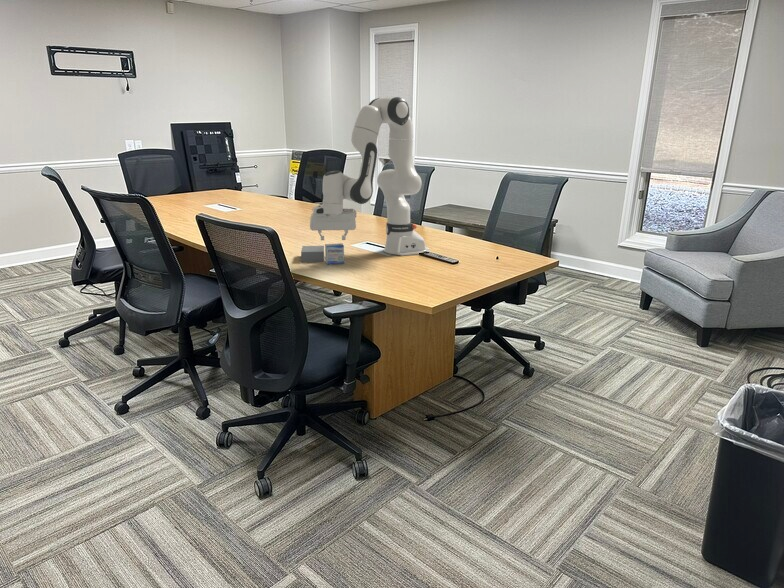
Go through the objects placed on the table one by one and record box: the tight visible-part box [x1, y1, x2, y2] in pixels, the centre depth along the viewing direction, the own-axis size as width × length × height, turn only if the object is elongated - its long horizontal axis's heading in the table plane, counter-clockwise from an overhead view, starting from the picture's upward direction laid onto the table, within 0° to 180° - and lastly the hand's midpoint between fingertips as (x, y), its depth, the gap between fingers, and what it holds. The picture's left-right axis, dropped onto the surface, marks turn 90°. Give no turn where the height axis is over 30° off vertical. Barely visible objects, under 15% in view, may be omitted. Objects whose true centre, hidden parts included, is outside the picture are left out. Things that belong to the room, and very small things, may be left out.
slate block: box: [300, 245, 325, 263], centre depth 253 cm, size 10×12×5 cm
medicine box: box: [324, 242, 345, 266], centre depth 245 cm, size 8×4×9 cm, turn 105°
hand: (333, 239), depth 242 cm, fingers open, 8 cm apart
